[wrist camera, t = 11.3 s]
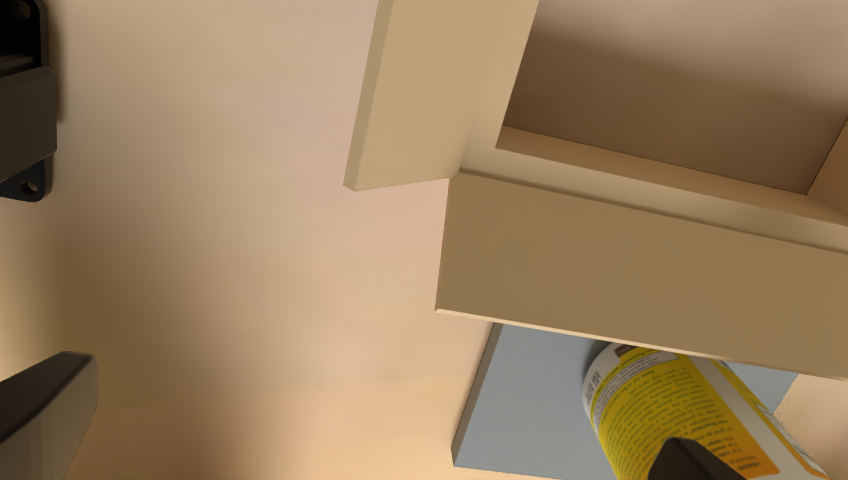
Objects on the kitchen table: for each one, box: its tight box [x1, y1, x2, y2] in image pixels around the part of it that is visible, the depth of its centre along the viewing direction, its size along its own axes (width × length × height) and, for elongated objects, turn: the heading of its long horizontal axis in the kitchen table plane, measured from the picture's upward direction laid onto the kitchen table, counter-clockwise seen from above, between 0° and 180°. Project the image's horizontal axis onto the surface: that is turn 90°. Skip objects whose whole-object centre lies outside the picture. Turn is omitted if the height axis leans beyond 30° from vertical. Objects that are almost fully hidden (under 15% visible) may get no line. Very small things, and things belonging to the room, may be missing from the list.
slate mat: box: [451, 322, 799, 480], centre depth 24 cm, size 13×12×1 cm
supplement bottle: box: [582, 342, 831, 480], centre depth 18 cm, size 6×6×10 cm
